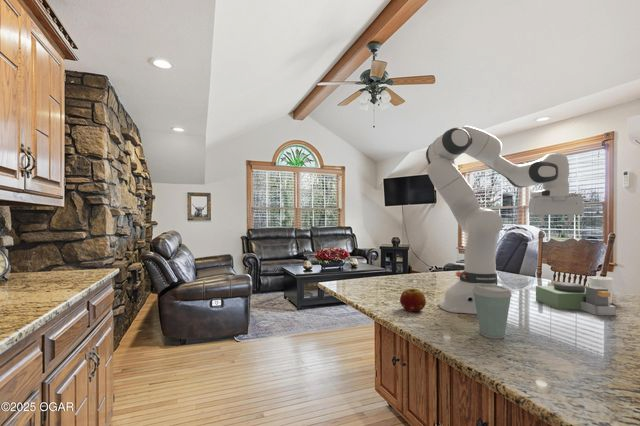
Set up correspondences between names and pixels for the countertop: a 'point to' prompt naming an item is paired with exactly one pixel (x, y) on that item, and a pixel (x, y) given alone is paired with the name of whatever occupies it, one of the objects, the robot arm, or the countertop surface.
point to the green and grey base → (570, 298)
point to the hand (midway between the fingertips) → (555, 225)
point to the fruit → (412, 300)
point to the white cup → (602, 284)
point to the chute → (597, 296)
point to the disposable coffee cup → (492, 309)
